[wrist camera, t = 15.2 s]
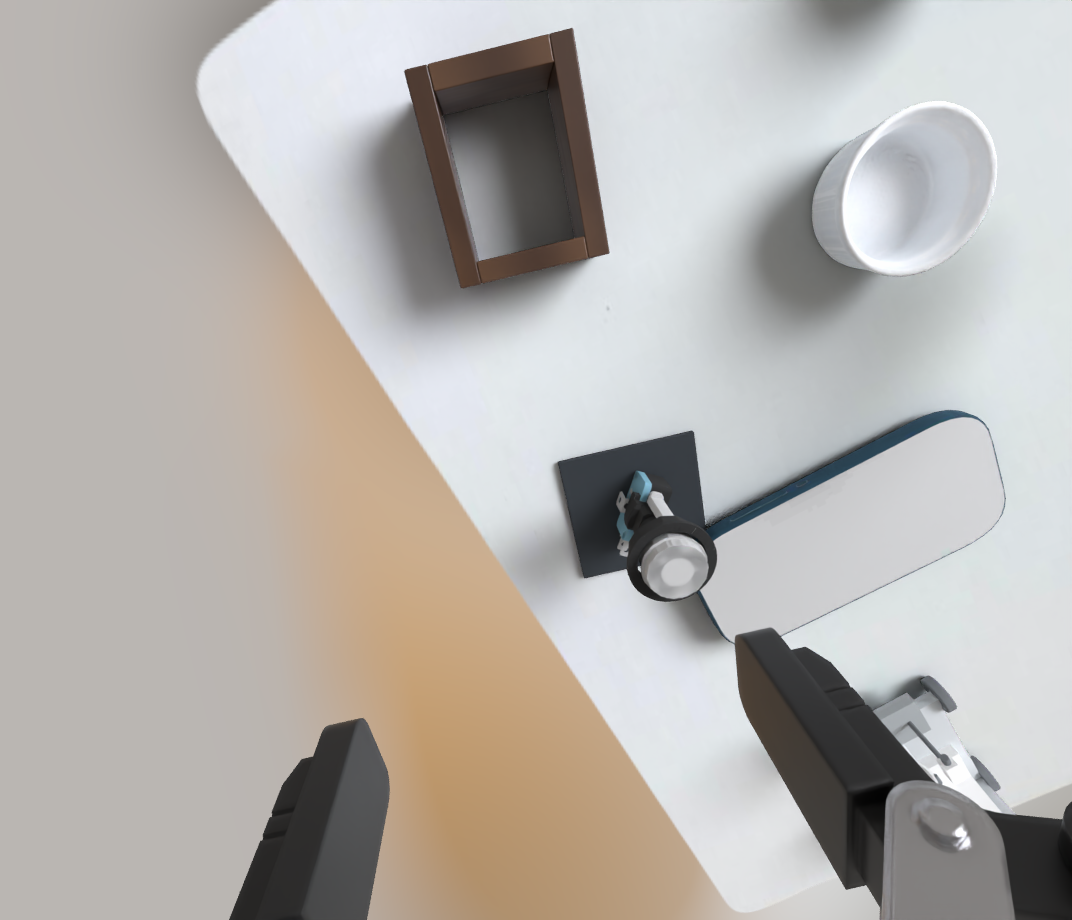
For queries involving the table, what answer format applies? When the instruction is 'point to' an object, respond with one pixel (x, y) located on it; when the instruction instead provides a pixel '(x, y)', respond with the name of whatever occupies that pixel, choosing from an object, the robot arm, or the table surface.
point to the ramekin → (907, 191)
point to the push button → (662, 543)
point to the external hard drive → (855, 525)
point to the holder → (557, 72)
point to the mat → (612, 471)
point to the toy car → (940, 744)
